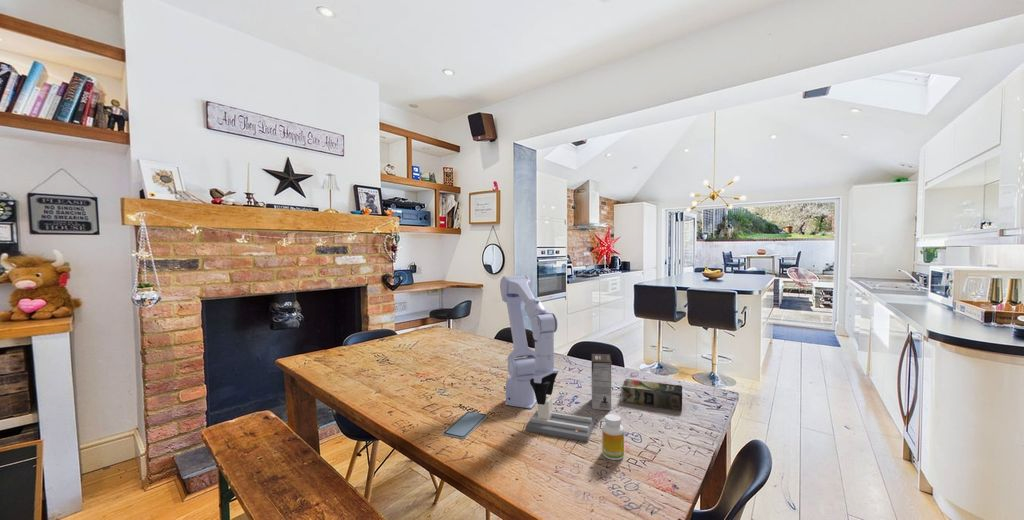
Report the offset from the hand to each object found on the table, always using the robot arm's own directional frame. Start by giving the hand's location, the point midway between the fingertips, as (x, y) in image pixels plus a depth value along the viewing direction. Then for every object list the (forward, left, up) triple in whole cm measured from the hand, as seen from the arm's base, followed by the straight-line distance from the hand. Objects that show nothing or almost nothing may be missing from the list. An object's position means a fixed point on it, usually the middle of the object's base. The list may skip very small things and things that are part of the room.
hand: (544, 398), depth 110 cm
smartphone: (-22, -9, -8) cm, 25 cm away
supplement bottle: (+21, -10, -8) cm, 24 cm away
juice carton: (+29, +29, -8) cm, 42 cm away
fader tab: (0, 0, -6) cm, 6 cm away
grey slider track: (+5, 0, -8) cm, 9 cm away
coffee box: (+14, +20, -8) cm, 26 cm away
